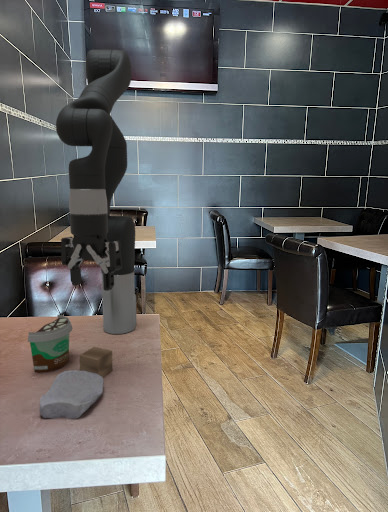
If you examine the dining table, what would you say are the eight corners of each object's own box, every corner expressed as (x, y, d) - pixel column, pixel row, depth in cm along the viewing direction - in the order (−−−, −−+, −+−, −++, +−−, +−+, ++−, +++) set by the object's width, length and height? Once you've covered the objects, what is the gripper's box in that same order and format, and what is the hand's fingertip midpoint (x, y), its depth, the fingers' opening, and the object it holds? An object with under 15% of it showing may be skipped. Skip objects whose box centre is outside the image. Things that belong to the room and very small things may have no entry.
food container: (55, 378, 79) (52, 335, 77) (30, 375, 80) (27, 333, 79) (83, 354, 91) (81, 316, 89) (61, 351, 92) (58, 314, 91)
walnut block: (95, 366, 85) (94, 346, 84) (112, 371, 83) (111, 350, 82) (80, 376, 81) (79, 355, 80) (98, 381, 79) (97, 360, 78)
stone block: (106, 393, 77) (59, 383, 77) (109, 373, 76) (62, 363, 76) (88, 432, 66) (34, 420, 66) (92, 409, 65) (37, 397, 65)
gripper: (128, 211, 75) (129, 287, 79) (74, 209, 81) (78, 279, 84) (105, 214, 69) (108, 296, 72) (48, 211, 75) (53, 287, 78)
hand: (92, 287), depth 78 cm, fingers open, 8 cm apart
